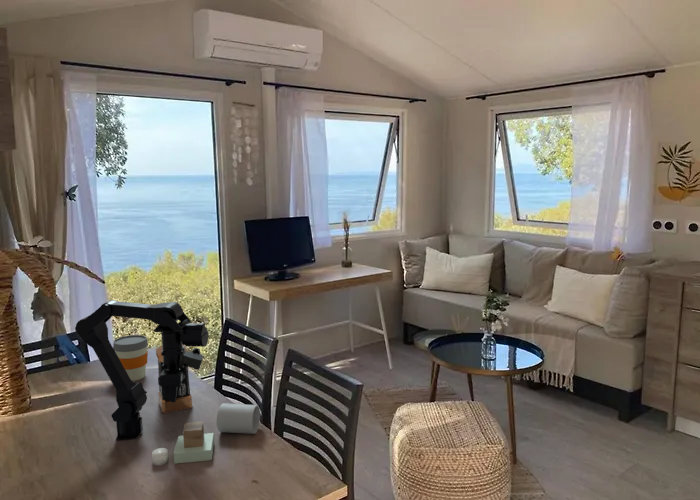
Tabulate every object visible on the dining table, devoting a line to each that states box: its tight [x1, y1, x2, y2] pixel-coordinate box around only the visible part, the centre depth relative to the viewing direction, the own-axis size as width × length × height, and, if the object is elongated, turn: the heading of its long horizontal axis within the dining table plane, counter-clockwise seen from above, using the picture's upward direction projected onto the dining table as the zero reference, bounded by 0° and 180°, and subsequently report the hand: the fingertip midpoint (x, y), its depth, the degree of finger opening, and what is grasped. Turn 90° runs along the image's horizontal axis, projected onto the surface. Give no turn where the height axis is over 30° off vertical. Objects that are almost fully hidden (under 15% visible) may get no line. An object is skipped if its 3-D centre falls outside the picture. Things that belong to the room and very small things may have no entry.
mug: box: [216, 402, 261, 435], centre depth 171 cm, size 12×8×11 cm
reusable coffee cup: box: [112, 334, 149, 382], centre depth 214 cm, size 13×12×15 cm
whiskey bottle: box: [155, 344, 193, 414], centre depth 187 cm, size 10×10×32 cm
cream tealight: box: [151, 447, 169, 466], centre depth 153 cm, size 4×4×3 cm
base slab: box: [173, 432, 215, 465], centre depth 158 cm, size 10×10×3 cm
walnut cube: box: [182, 421, 205, 448], centre depth 157 cm, size 5×5×5 cm
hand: (175, 395), depth 166 cm, fingers open, 9 cm apart
